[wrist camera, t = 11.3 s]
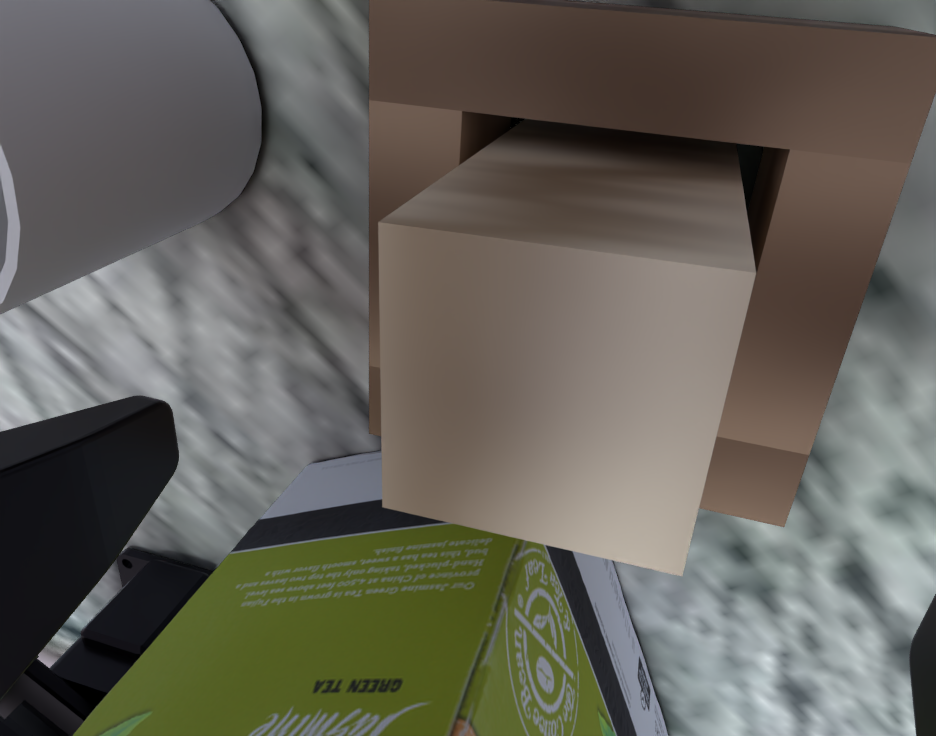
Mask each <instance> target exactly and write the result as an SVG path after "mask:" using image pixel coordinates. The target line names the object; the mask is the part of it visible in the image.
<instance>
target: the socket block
mask: <svg viewBox="0 0 936 736" xmlns="http://www.w3.org/2000/svg"><path fill="white" fill-rule="evenodd" d="M935 93H936V35H933V34H929V33H924V32H919V31H914V30H909V29H904V28H899V27H893V26H881V25H868V24H856V23H843V22H831V21H818V20H806V19H793V18H781V17H768V16H756V15H743V14H731V13H718V12H706V11H693V10H681V9H668V8H656V7H643V6H631V5H618V4H606V3H593V2H581V1H568V0H369V434H373V435H377V436H381V379H380V309H379V240H378V222H379V221H381V220H382V219H383V218H385V217H386V216H388V215H389V214H391V213H392V212H393V211H395V210H396V209H398V208H399V207H400V206H402V205H403V204H405V203H406V202H408V201H409V200H410V199H412V198H413V197H415V196H416V195H418V194H419V193H420V192H422V191H423V190H425V189H426V188H428V187H429V186H430V185H432V184H433V183H435V182H436V181H438V180H439V179H440V178H442V177H443V176H445V175H446V174H448V173H449V172H450V171H452V170H453V169H455V168H456V167H458V166H459V165H460V164H462V163H463V162H465V161H466V160H468V159H469V158H470V157H472V156H473V155H475V154H476V153H478V152H479V151H480V150H482V149H483V148H485V147H486V146H488V145H489V144H490V143H492V142H493V141H495V140H496V139H498V138H499V137H500V136H502V135H503V134H505V133H506V132H508V131H509V130H510V125H511V117H517V118H525V119H534V120H542V121H551V122H559V123H568V124H576V125H585V126H593V127H602V128H610V129H619V130H627V131H636V132H644V133H653V134H662V135H670V136H679V137H687V138H696V139H704V140H713V141H721V142H730V143H738V144H747V145H755V146H764V149H763V153H762V157H761V161H760V165H759V169H758V173H757V176H756V180H755V184H754V188H753V192H752V196H751V200H750V204H749V208H748V212H747V216H748V223H749V229H750V236H751V242H752V249H753V255H754V262H755V268H756V276H755V280H754V284H753V288H752V293H751V297H750V301H749V305H748V309H747V313H746V317H745V321H744V325H743V329H742V334H741V338H740V342H739V346H738V350H737V354H736V358H735V362H734V366H733V370H732V375H731V379H730V383H729V387H728V391H727V395H726V399H725V403H724V407H723V411H722V416H721V420H720V424H719V428H718V432H717V436H716V440H715V444H714V448H713V452H712V457H711V461H710V465H709V469H708V473H707V477H706V481H705V485H704V489H703V494H702V498H701V502H700V506H699V508H701V509H706V510H710V511H714V512H719V513H723V514H728V515H732V516H737V517H741V518H746V519H750V520H754V521H759V522H763V523H768V524H772V525H777V526H781V527H784V526H785V523H786V520H787V518H788V515H789V512H790V509H791V506H792V503H793V500H794V497H795V495H796V492H797V489H798V486H799V483H800V480H801V477H802V474H803V472H804V469H805V466H806V463H807V460H808V457H809V454H810V452H811V449H812V446H813V443H814V440H815V437H816V434H817V431H818V429H819V426H820V423H821V420H822V417H823V414H824V411H825V409H826V406H827V403H828V400H829V397H830V394H831V391H832V388H833V386H834V383H835V380H836V377H837V374H838V371H839V368H840V366H841V363H842V360H843V357H844V354H845V351H846V348H847V345H848V343H849V340H850V337H851V334H852V331H853V328H854V325H855V322H856V320H857V317H858V314H859V311H860V308H861V305H862V302H863V300H864V297H865V294H866V291H867V288H868V285H869V282H870V279H871V277H872V274H873V271H874V268H875V265H876V262H877V259H878V257H879V254H880V251H881V248H882V245H883V242H884V239H885V236H886V234H887V231H888V228H889V225H890V222H891V219H892V216H893V214H894V211H895V208H896V205H897V202H898V199H899V196H900V193H901V191H902V188H903V185H904V182H905V179H906V176H907V173H908V170H909V168H910V165H911V162H912V159H913V156H914V153H915V150H916V148H917V145H918V142H919V139H920V136H921V133H922V130H923V127H924V125H925V122H926V119H927V116H928V113H929V110H930V107H931V105H932V102H933V99H934V96H935Z"/></svg>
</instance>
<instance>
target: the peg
mask: <svg viewBox="0 0 936 736" xmlns="http://www.w3.org/2000/svg"><path fill="white" fill-rule="evenodd" d="M378 240H379V309H380V379H381V448H382V507H384V508H388V509H392V510H397V511H401V512H405V513H410V514H414V515H418V516H423V517H427V518H431V519H436V520H440V521H444V522H449V523H453V524H457V525H462V526H466V527H470V528H475V529H479V530H483V531H488V532H492V533H496V534H501V535H505V536H509V537H514V538H518V539H522V540H526V541H531V542H535V543H539V544H544V545H548V546H552V547H557V548H561V549H565V550H570V551H574V552H578V553H583V554H587V555H591V556H596V557H600V558H604V559H609V560H613V561H617V562H622V563H626V564H630V565H635V566H639V567H643V568H648V569H652V570H656V571H661V572H665V573H669V574H674V575H678V576H683V571H684V567H685V563H686V559H687V555H688V551H689V547H690V543H691V539H692V535H693V530H694V526H695V522H696V518H697V514H698V510H699V506H700V502H701V498H702V494H703V489H704V485H705V481H706V477H707V473H708V469H709V465H710V461H711V457H712V452H713V448H714V444H715V440H716V436H717V432H718V428H719V424H720V420H721V416H722V411H723V407H724V403H725V399H726V395H727V391H728V387H729V383H730V379H731V375H732V370H733V366H734V362H735V358H736V354H737V350H738V346H739V342H740V338H741V334H742V329H743V325H744V321H745V317H746V313H747V309H748V305H749V301H750V297H751V293H752V288H753V284H754V280H755V276H756V268H755V262H754V255H753V249H752V242H751V236H750V229H749V223H748V216H747V210H746V204H745V197H744V191H743V184H742V178H741V171H740V165H739V158H738V152H737V145H736V143H730V142H721V141H713V140H704V139H696V138H687V137H679V136H670V135H662V134H653V133H644V132H636V131H627V130H619V129H610V128H602V127H593V126H585V125H576V124H568V123H559V122H551V121H542V120H534V119H525V120H523V121H522V122H520V123H519V124H518V125H516V126H515V127H513V128H512V129H510V130H509V131H508V132H506V133H505V134H503V135H502V136H500V137H499V138H498V139H496V140H495V141H493V142H492V143H490V144H489V145H488V146H486V147H485V148H483V149H482V150H480V151H479V152H478V153H476V154H475V155H473V156H472V157H470V158H469V159H468V160H466V161H465V162H463V163H462V164H460V165H459V166H458V167H456V168H455V169H453V170H452V171H450V172H449V173H448V174H446V175H445V176H443V177H442V178H440V179H439V180H438V181H436V182H435V183H433V184H432V185H430V186H429V187H428V188H426V189H425V190H423V191H422V192H420V193H419V194H418V195H416V196H415V197H413V198H412V199H410V200H409V201H408V202H406V203H405V204H403V205H402V206H400V207H399V208H398V209H396V210H395V211H393V212H392V213H391V214H389V215H388V216H386V217H385V218H383V219H382V220H381V221H379V222H378Z"/></svg>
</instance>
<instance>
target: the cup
mask: <svg viewBox="0 0 936 736" xmlns="http://www.w3.org/2000/svg"><path fill="white" fill-rule="evenodd" d="M261 114H262V108H261V102H260V98H259V93H258V88H257V83H256V79H255V74H254V71H253V69H252V67H251V65H250V62H249V60H248V58H247V55H246V53H245V51H244V49H243V46H242V44H241V42H240V40H239V38H238V36H237V35H236V33H235V32H234V31H233V29H232V28H231V26H230V25H229V24H228V22H227V21H226V19H225V18H224V16H223V15H222V14H221V12H220V11H219V9H218V8H217V6H216V5H214V4H213V3H212V2H211V1H210V0H0V314H2V313H4V312H7V311H9V310H11V309H13V308H15V307H17V306H20V305H22V304H24V303H26V302H28V301H31V300H33V299H35V298H37V297H39V296H41V295H44V294H46V293H48V292H50V291H52V290H55V289H57V288H59V287H61V286H63V285H66V284H68V283H70V282H72V281H74V280H76V279H79V278H81V277H83V276H85V275H87V274H90V273H92V272H94V271H96V270H98V269H100V268H103V267H105V266H107V265H109V264H111V263H114V262H116V261H118V260H120V259H122V258H125V257H127V256H129V255H131V254H133V253H135V252H138V251H140V250H142V249H144V248H146V247H149V246H151V245H153V244H155V243H157V242H159V241H162V240H164V239H166V238H168V237H170V236H173V235H175V234H177V233H179V232H181V231H184V230H186V229H188V228H190V227H192V226H194V225H197V224H199V223H201V222H203V221H205V220H207V219H209V218H211V217H212V216H214V215H216V214H217V213H219V212H220V211H222V210H223V209H224V208H225V207H226V206H228V205H229V204H230V203H231V202H232V201H234V200H235V199H236V198H237V197H238V196H239V195H240V194H241V192H242V190H243V189H244V187H245V185H246V184H247V182H248V180H249V179H250V177H251V176H252V174H253V172H254V168H255V164H256V161H257V157H258V153H259V149H260V146H261Z"/></svg>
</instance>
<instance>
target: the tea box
mask: <svg viewBox="0 0 936 736" xmlns="http://www.w3.org/2000/svg"><path fill="white" fill-rule="evenodd" d="M73 736H668V734H667V730H666V726H665V722H664V719H663V716H662V712H661V709H660V706H659V703H658V701H657V698H656V696H655V693H654V689H653V686H652V683H651V680H650V677H649V674H648V670H647V667H646V663H645V659H644V656H643V654H642V651H641V648H640V645H639V642H638V639H637V636H636V634H635V631H634V629H633V626H632V622H631V619H630V616H629V613H628V610H627V607H626V604H625V601H624V598H623V594H622V591H621V587H620V583H619V580H618V577H617V574H616V571H615V568H614V565H613V562H612V560H609V559H604V558H600V557H596V556H591V555H587V554H583V553H578V552H574V551H570V550H565V549H561V548H557V547H552V546H548V545H544V544H539V543H535V542H531V541H526V540H522V539H518V538H514V537H509V536H505V535H501V534H496V533H492V532H488V531H483V530H479V529H475V528H470V527H466V526H462V525H457V524H453V523H449V522H444V521H440V520H436V519H431V518H427V517H423V516H418V515H414V514H410V513H405V512H401V511H397V510H392V509H388V508H384V507H382V451H378V452H371V453H364V454H359V455H354V456H349V457H344V458H338V459H333V460H328V461H324V462H320V463H312V464H309V465H307V466H306V467H305V468H304V470H303V471H302V472H301V473H300V474H299V475H298V476H297V478H296V479H295V480H294V481H293V482H292V483H291V484H290V485H289V486H288V488H287V489H286V490H285V491H284V492H283V493H282V494H281V495H280V496H279V497H278V499H277V500H276V501H275V502H274V503H273V504H272V505H271V506H270V508H269V509H268V510H267V511H266V513H265V514H264V515H263V516H262V517H261V518H260V519H259V520H258V521H257V522H256V523H255V525H254V526H253V527H251V528H250V529H249V530H248V532H247V533H246V535H245V536H244V537H243V538H242V539H241V540H240V542H239V543H238V544H237V546H236V547H235V548H234V549H233V550H232V551H231V552H230V554H229V555H228V556H227V557H226V558H225V559H224V560H223V562H222V563H221V564H220V565H219V566H218V567H217V568H216V570H215V571H214V572H213V573H212V574H211V575H210V576H209V578H208V579H207V580H206V581H205V582H204V583H203V584H202V586H201V587H200V588H199V589H198V590H197V591H196V593H195V594H194V595H193V596H192V597H191V598H190V599H189V601H188V602H187V603H186V604H185V605H184V607H183V608H182V609H181V610H180V611H179V612H178V614H177V615H176V616H175V617H174V618H173V619H172V621H171V622H170V623H169V624H168V625H167V626H166V628H165V629H164V630H163V631H162V632H161V633H160V635H159V636H158V637H157V638H156V639H155V640H154V642H153V643H152V644H151V645H150V646H149V647H148V648H147V650H146V651H145V652H144V653H143V654H142V655H141V656H140V658H139V659H138V660H137V661H136V662H135V663H134V665H133V666H132V667H131V668H130V669H129V670H128V671H127V673H126V674H125V675H124V676H123V677H122V678H121V679H120V680H119V682H118V683H117V684H116V685H115V686H114V687H113V688H112V689H111V691H110V692H109V693H108V694H107V695H106V696H105V698H104V699H103V700H102V701H101V702H100V703H99V704H98V706H97V707H96V708H95V709H94V710H93V711H92V712H91V714H90V715H89V716H88V717H87V719H86V720H85V721H84V722H83V723H82V725H81V726H80V727H79V728H78V730H77V731H76V732H75V733H74V734H73Z"/></svg>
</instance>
